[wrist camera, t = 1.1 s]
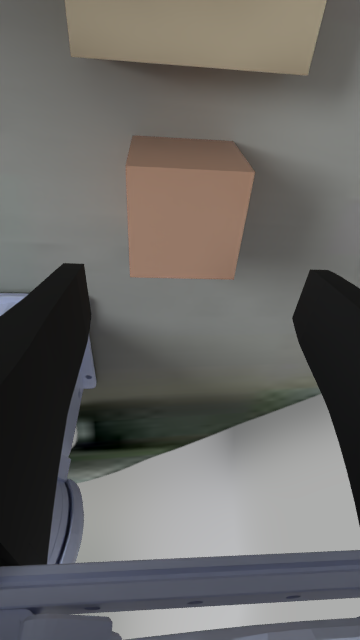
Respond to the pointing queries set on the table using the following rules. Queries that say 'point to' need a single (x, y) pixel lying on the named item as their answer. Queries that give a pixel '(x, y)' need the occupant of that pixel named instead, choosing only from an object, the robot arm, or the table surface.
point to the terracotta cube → (186, 207)
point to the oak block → (198, 32)
